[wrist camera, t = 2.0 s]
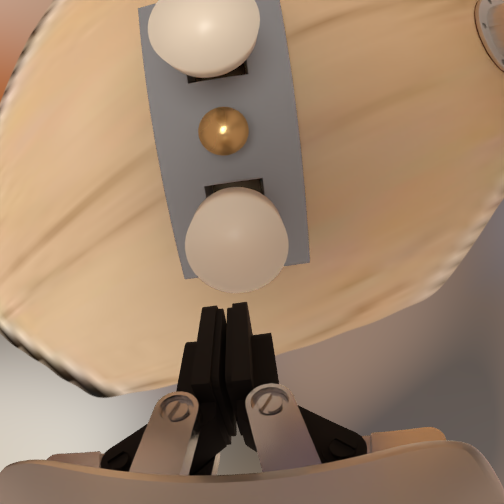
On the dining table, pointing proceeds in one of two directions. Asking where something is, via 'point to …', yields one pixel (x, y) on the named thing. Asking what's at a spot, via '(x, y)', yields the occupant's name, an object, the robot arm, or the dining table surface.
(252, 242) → the ivory knob
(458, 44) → the dining table surface
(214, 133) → the brass ball
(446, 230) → the dining table surface
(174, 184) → the mount
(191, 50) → the ivory knob
